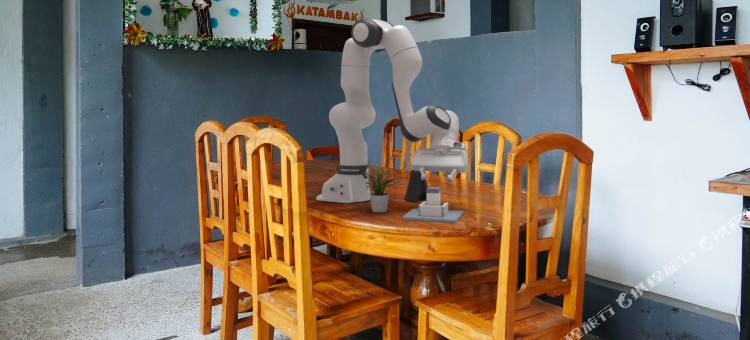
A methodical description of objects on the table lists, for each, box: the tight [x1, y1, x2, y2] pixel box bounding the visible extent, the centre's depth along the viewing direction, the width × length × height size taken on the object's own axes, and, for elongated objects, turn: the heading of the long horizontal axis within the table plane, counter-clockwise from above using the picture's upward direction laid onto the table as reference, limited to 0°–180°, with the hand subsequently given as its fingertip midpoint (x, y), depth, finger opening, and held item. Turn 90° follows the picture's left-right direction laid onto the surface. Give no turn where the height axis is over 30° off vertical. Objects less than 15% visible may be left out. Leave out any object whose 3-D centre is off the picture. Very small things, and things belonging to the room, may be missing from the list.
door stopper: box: [403, 169, 429, 203], centre depth 225 cm, size 9×6×12 cm, turn 126°
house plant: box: [365, 166, 399, 213], centre depth 203 cm, size 14×14×16 cm
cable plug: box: [426, 186, 442, 206], centre depth 194 cm, size 4×4×9 cm
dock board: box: [402, 201, 465, 224], centre depth 194 cm, size 18×15×4 cm
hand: (436, 179), depth 198 cm, fingers open, 8 cm apart
